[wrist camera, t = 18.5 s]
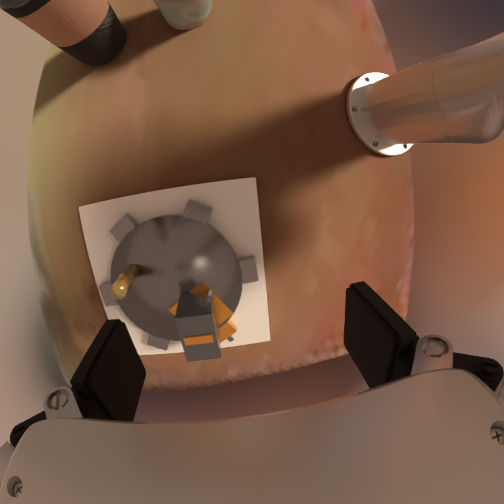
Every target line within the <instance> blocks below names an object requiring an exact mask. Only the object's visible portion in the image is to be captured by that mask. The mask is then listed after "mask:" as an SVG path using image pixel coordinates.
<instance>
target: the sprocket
mask: <svg viewBox="0 0 504 504" xmlns="http://www.w3.org/2000/svg"><path fill="white" fill-rule="evenodd" d="M212 209H213V207H210V206H208V205H205V204H202V203H199V202H196V201H193V200H190V199H188V201H187V204H186V207H185V210H184V213H183V215H162V216H157V217H154V218H151V219H148V220H146V221H144V222H142V223H141V224H139V225H138V224H137V223H136V222H135V220H134V219H133V218H132V217H131V216H130V215H129V213H126V214H124V215H123V217H122V218H121V219H120V220H119V221H118V222H117V223H116V224H115V225H114V226H113V227H112V228H111V229H110V230H109V232H110V233H111V234H112V235H113V236H114V237H115V239H116V240H117V241H118V242H119V243H120V244H119V245H118V247H117V249H116V251H115V253H114V256H113V259H112V263H111V281H110V282H105V283H101V284H100V286H99V289H100V292H101V295H102V298H103V300H104V303H105V306H106V307H108V306H115V305H119V306H120V308H121V310H122V311H123V312H124V314H125V315H126V316H127V317H128V318H129V319H130V321H131V322H133V323H134V324H135V325H136V326H137V327H139V328H140V329H142V330H143V331H145V332H147V333H149V337H148V341H147V345H149V346H152V347H156V348H159V349H162V350H165V351H167V349H168V345H169V342H170V340H172V341H181V340H180V336H179V333H178V329H177V326H176V322H175V319H174V318H175V314H176V310H177V305H178V301H179V297H180V294H183V293H191V292H198V291H205V290H212V294H213V299H214V304H215V309H216V315H217V320H218V325H219V330H220V343H221V342H223V341H224V340H226V339H227V338H228V337H230V336H231V335H233V334H234V333H235V332H237V327H236V326H235V325H234V324H233V323H232V322H231V321H230V320H229V319H230V318H231V317H232V315H233V314H234V312H235V310H236V308H237V306H238V304H239V301H240V298H241V293H242V283H243V284H245V283H250V282H256V281H259V280H258V273H257V267H256V260H255V257H254V255H253V256H247V257H242V258H237V256H236V253H235V251H234V250H233V248H232V246H231V245H230V243H229V242H228V241H227V239H226V238H225V237H224V236H223V235H222V234H221V233H220V232H219V231H217V230H216V229H215V228H213V227H212V226H210V225H209V224H207V223H208V220H209V218H210V215H211V212H212ZM137 225H138V226H137Z"/></svg>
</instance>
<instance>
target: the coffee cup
mask: <svg viewBox="0 0 504 504" xmlns="http://www.w3.org/2000/svg"><path fill="white" fill-rule="evenodd" d="M212 1H213V0H154V2H155V3H156V5H157V7H158V8H159V10H160V11H161V13H162V15H163V16H164V18H165V20H166V21H167V23H168V24H169V25H170V26H171V27H173V28H175V29H179V30H189V29H193V28H196V27H198V26H200V25H202V24H203V23H204V22H205V21H206V20H207V19H208V17H209V13H210V9H211V5H212Z"/></svg>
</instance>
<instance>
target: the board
mask: <svg viewBox="0 0 504 504" xmlns="http://www.w3.org/2000/svg"><path fill="white" fill-rule="evenodd" d="M188 199H190V200H193V201H196V202H199V203H202V204H205V205H208V206H210V207H213V209H212V212H211V215H210V218H209V220H208V223H207V224H209V225H210V226H212V227H213V228H215V229H216V230H217V231H219V232H220V233H221V234H222V235H223V236H224V237H225V238H226V239H227V241H228V242H229V243H230V245H231V246H232V248H233V250H234V251H235V253H236V256H237V258H242V257H247V256H253V255H254V257H255V260H256V267H257V273H258V280H259V281H256V282H250V283H245V284H243V283H242V293H241V298H240V301H239V304H238V306H237V308H236V310H235V312H234V314H233V315H232V317H231V318H230V319H229V320H230V321H231V322H232V323H233V324H234V325H235V326H236V327H237V332H235V333H234V334H233V335H231V336H230V337H228V338H227V339H226V340H224V341H223V342H221V343H220V346H221V348H224V347H231V346H238V345H245V344H252V343H258V342H264V341H270V330H269V318H268V306H267V295H266V283H265V272H264V260H263V249H262V238H261V227H260V217H259V206H258V196H257V186H256V177H251V178H242V179H233V180H224V181H216V182H209V183H201V184H194V185H188V186H181V187H175V188H169V189H163V190H157V191H151V192H146V193H140V194H135V195H130V196H125V197H120V198H115V199H110V200H106V201H101V202H97V203H92V204H88V205H84V206H80V207H79V213H80V218H81V224H82V228H83V233H84V238H85V242H86V246H87V251H88V255H89V259H90V262H91V266H92V270H93V274H94V277H95V280H96V284H97V287H98V290H99V294H100V297H101V300H102V303H103V306H104V309H105V312H106V315H107V317H108V320H110V319H120V320H121V321H122V322H124V323H125V324H126V327H127V329H128V331H129V334H130V336H131V339H132V341H133V343H134V346H135V348H136V350H137V352H138V355H149V354H164V353H177V352H184V350H183V346H182V343H181V341H172V340H170V342H169V345H168V349H167V351H165V350H162V349H159V348H156V347H152V346H149V345H147V341H148V337H149V333H147V332H145V331H143V330H142V329H140V328H139V327H137V326H136V325H135V324H134V323H133V322H131V321H130V319H129V318H128V317H127V316H126V315H125V314H124V312H123V311H122V310H121V308H120V306H119V305H115V306H108V307H106V306H105V303H104V300H103V298H102V295H101V292H100V289H99V286H100V284H101V283H105V282H110V281H111V263H112V259H113V256H114V253H115V251H116V249H117V247H118V245H119V244H120V243H119V242H118V241H117V240H116V239H115V237H114V236H113V235H112V234H111V233H110V232H109V230H110V229H111V228H112V227H113V226H114V225H115V224H116V223H117V222H118V221H119V220H120V219H121V218H122V217H123V215H124V214H126V213H129V215H130V216H131V217H132V218H133V219H134V220H135V222H136V223H137V224H138V225H139V224H141V223H142V222H144V221H146V220H148V219H151V218H154V217H157V216H162V215H183V213H184V210H185V207H186V204H187V201H188ZM138 225H137V226H138Z"/></svg>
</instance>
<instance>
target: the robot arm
mask: <svg viewBox="0 0 504 504" xmlns="http://www.w3.org/2000/svg"><path fill="white" fill-rule="evenodd" d="M346 106H347V114H348V118H349V121H350V124H351V126H352V128H353V130H354V132H355V133H356V135H357V137H358V138H359V139H360V140H361V141H362V143H363V144H365V145H366V146H367V147H368V148H369V149H371V150H373V151H374V152H376V153H379V154H381V155H387V156H395V155H400V154H402V153H404V152H406V151H407V150H408V149H410V148H411V146H412V145H413V144H420V143H468V144H484V143H488V142H491V141H493V140H495V139H496V138H497V137H498V136H500V134H501V133H502V132H503V131H504V32H503V33H500V34H498V35H496V36H494V37H492V38H490V39H487V40H485V41H482V42H480V43H478V44H475V45H472V46H469V47H467V48H463V49H461V50H458V51H455V52H452V53H449V54H446V55H443V56H440V57H437V58H434V59H431V60H428V61H425V62H422V63H420V64H417V65H414V66H412V67H409V68H407V69H404V70H401V71H399V72H397V73H394V74H392V75H389V76H388V75H386V74H383V73H376V72H373V73H367V74H365V75H362V76H361V77H359V78H357V79H356V80H355V81H354V82H353V83H352V85H351V87H350V88H349V91H348V94H347V101H346ZM352 109H353V110H352ZM344 345H345V347H346V349H347V351H348V352H349V354H350V356H351V357H352V359H353V361H354V362H355V364H356V366H357V367H358V369H359V370H360V372H361V374H362V376H363V378H364V379H365V381H366V383H367V384H368V386H369V388H370V389H368V390H364V391H361V392H358V393H355V394H351V395H348V396H344V397H341V398H337V399H333V400H329V401H325V402H322V403H317V404H313V405H309V406H304V407H299V408H295V409H290V410H284V411H279V412H274V413H267V414H261V415H254V416H247V417H239V418H230V419H221V420H208V421H190V422H133V420H134V416H135V412H136V409H137V405H138V401H139V398H140V394H141V391H142V387H143V384H144V380H145V377H146V371H145V368H144V365H143V363H142V361H141V359H140V357H139V355H138V352H137V350H136V348H135V346H134V343H133V341H132V339H131V336H130V334H129V331H128V329H127V327H126V324H125V323H124V322H122V321H121V320H120V319H110V320H106V322H105V323H104V325H103V326H102V328H101V329H100V331H99V333H98V334H97V336H96V338H95V339H94V341H93V342H92V344H91V346H90V347H89V349H88V351H87V352H86V354H85V356H84V358H83V359H82V361H81V363H80V364H79V366H78V368H77V370H76V372H75V373H74V375H73V377H72V379H71V381H70V383H71V384H72V388H71V389H69V388H67V387H58V388H55V389H53V390H52V391H50V392H49V393H48V394H47V396H46V397H45V400H44V409H45V410H44V411H43V412H41V413H39V414H37V415H35V416H33V417H31V418H30V419H28V420H26V421H24V422H22V423H20V424H18V425H16V426H15V427H14V428H13V430H12V432H11V435H10V442H11V443H9V442H8V441H7V442H6V443H5V444H4V445H2V446H1V447H0V504H504V372H503V368H502V366H501V365H500V364H499V363H498V362H497V361H495V360H494V359H490V358H485V357H479V356H472V355H466V354H460V353H454V352H453V347H452V344H451V342H450V341H449V340H448V339H446V338H445V337H443V336H440V335H433V334H430V335H426V336H424V337H422V338H419V337H418V336H417V335H416V332H415V331H414V330H413V329H412V328H411V327H410V326H409V325H408V324H407V323H406V322H405V321H404V320H403V319H402V318H401V317H400V316H399V315H398V314H397V313H396V312H395V311H394V310H393V309H392V308H391V307H390V306H389V305H388V304H387V303H386V302H385V301H384V300H383V299H382V298H381V297H380V296H379V295H378V294H377V293H376V292H375V291H374V290H373V289H371V288H370V287H369V286H368V285H367V284H366V283H365V282H364V281H362V282H357V283H353V284H350V287H349V288H347V289H346V305H345V325H344Z"/></svg>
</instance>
